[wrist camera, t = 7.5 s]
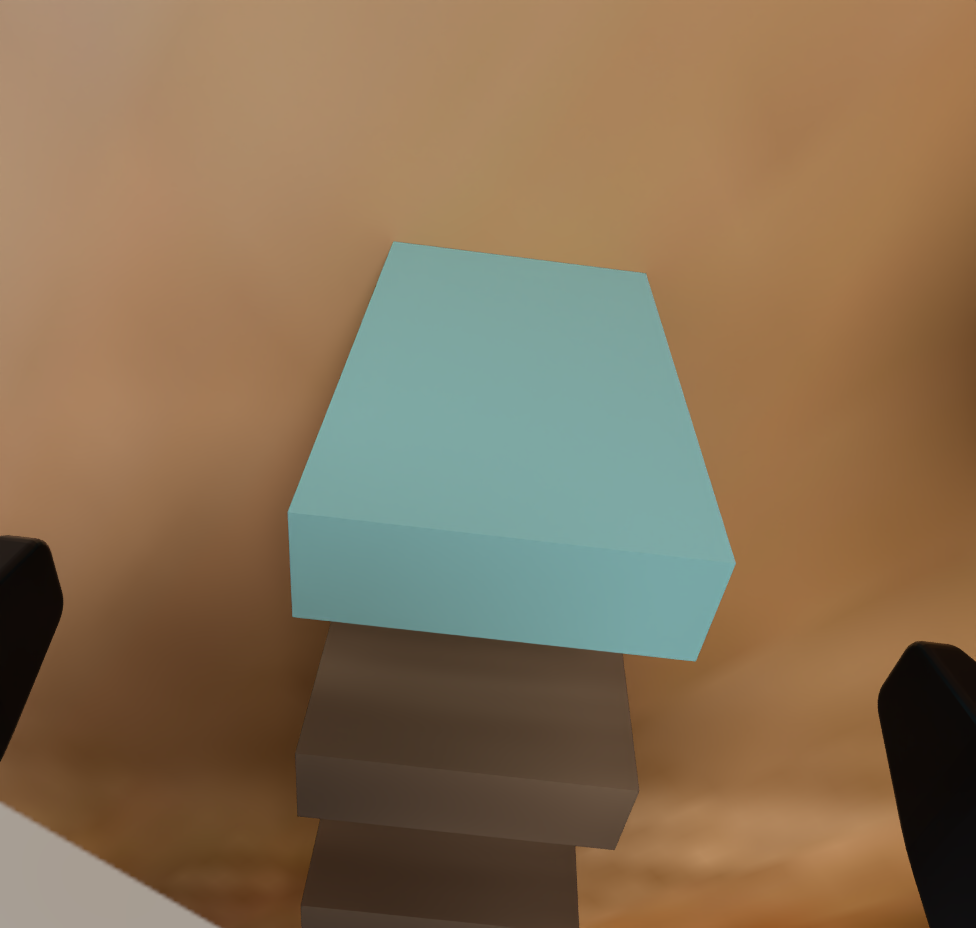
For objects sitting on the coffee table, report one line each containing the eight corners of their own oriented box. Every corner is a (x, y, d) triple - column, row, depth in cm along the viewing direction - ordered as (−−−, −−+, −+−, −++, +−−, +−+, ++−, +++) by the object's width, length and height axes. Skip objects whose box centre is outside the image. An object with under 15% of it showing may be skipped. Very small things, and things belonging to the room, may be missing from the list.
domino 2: (382, 431, 17) (295, 753, 11) (598, 459, 17) (639, 790, 11) (379, 489, 18) (297, 815, 12) (584, 514, 18) (614, 850, 12)
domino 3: (374, 576, 20) (300, 905, 13) (563, 598, 20) (579, 933, 14) (372, 619, 21) (302, 947, 14) (552, 640, 21) (562, 973, 15)
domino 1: (393, 241, 15) (287, 511, 8) (645, 273, 15) (736, 563, 8) (390, 319, 16) (292, 617, 9) (627, 348, 16) (695, 661, 9)
